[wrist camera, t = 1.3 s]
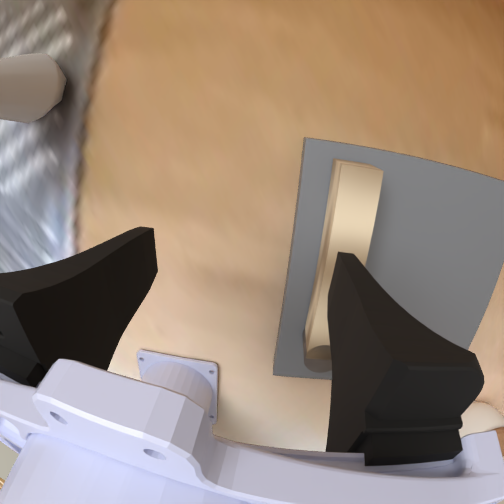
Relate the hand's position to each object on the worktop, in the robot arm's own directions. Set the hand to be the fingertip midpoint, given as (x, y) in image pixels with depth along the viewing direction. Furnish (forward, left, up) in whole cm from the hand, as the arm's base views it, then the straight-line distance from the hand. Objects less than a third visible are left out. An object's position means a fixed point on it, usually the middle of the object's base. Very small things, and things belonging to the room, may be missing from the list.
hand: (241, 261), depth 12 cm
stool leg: (-4, -6, -9) cm, 11 cm away
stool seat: (-5, -12, -11) cm, 17 cm away
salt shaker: (+9, +18, -11) cm, 23 cm away
